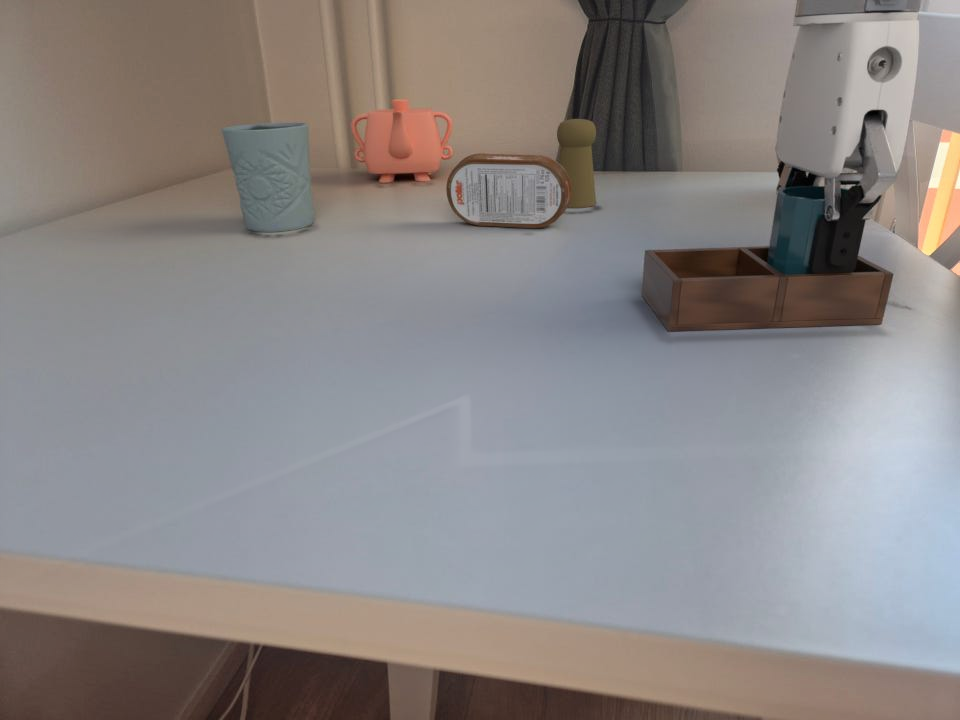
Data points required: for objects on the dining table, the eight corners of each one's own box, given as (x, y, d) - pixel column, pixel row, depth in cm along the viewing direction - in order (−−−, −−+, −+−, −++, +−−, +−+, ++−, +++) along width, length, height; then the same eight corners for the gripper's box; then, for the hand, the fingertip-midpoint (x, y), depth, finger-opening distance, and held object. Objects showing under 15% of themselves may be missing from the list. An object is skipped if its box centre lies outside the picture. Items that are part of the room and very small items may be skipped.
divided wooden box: (827, 289, 59) (836, 243, 57) (881, 324, 51) (894, 273, 49) (641, 295, 58) (644, 249, 57) (668, 331, 51) (673, 280, 49)
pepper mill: (604, 205, 92) (608, 119, 88) (565, 209, 90) (567, 122, 86) (582, 197, 97) (585, 116, 93) (544, 201, 95) (545, 119, 91)
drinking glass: (257, 237, 80) (240, 131, 75) (226, 223, 88) (208, 126, 83) (334, 223, 86) (322, 124, 81) (298, 211, 93) (286, 119, 88)
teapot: (409, 167, 127) (404, 95, 121) (470, 176, 116) (468, 97, 111) (342, 178, 117) (333, 100, 112) (402, 189, 106) (395, 103, 101)
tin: (570, 225, 82) (573, 153, 79) (566, 231, 79) (568, 157, 76) (452, 220, 86) (450, 152, 83) (445, 226, 83) (441, 155, 80)
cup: (821, 280, 57) (839, 184, 54) (859, 305, 52) (882, 199, 48) (750, 283, 57) (764, 186, 54) (781, 307, 52) (799, 201, 48)
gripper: (1005, -12, 38) (925, 293, 45) (846, 6, 54) (805, 231, 61) (872, -9, 38) (814, 297, 45) (751, 9, 53) (723, 233, 61)
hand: (809, 257), depth 53 cm, fingers closed on cup, 6 cm apart
